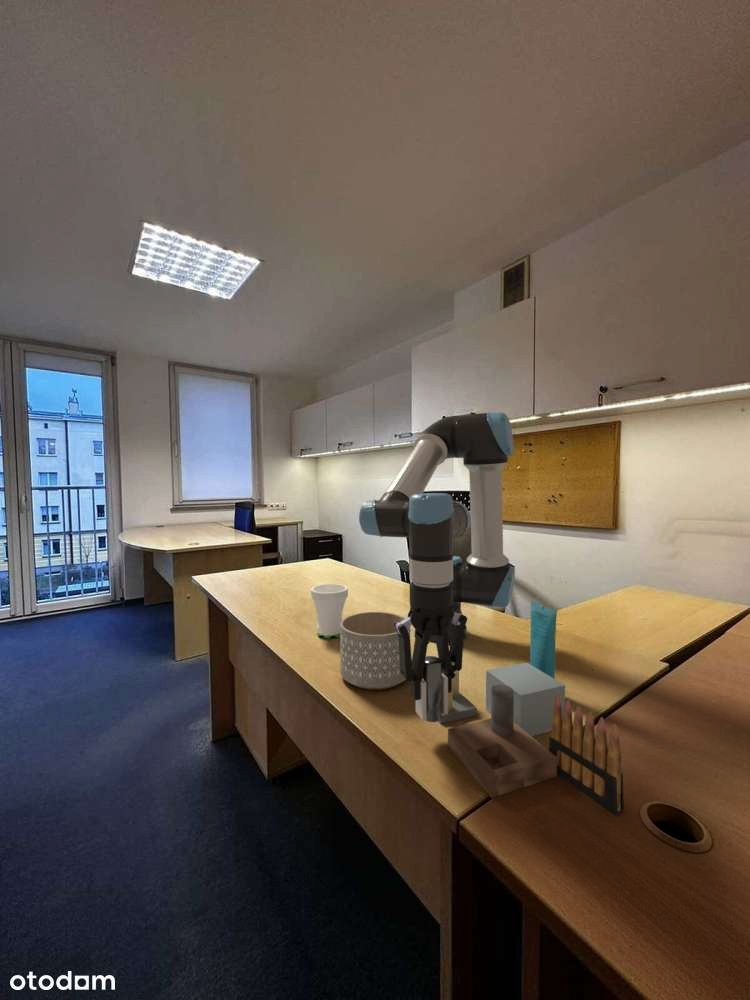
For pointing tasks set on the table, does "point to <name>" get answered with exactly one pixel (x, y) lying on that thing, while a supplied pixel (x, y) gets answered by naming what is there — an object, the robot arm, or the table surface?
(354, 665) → the planter
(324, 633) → the cup
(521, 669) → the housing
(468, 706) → the board
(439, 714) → the peg
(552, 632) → the tube
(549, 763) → the socket board
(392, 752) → the table surface
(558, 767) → the ammunition clip
